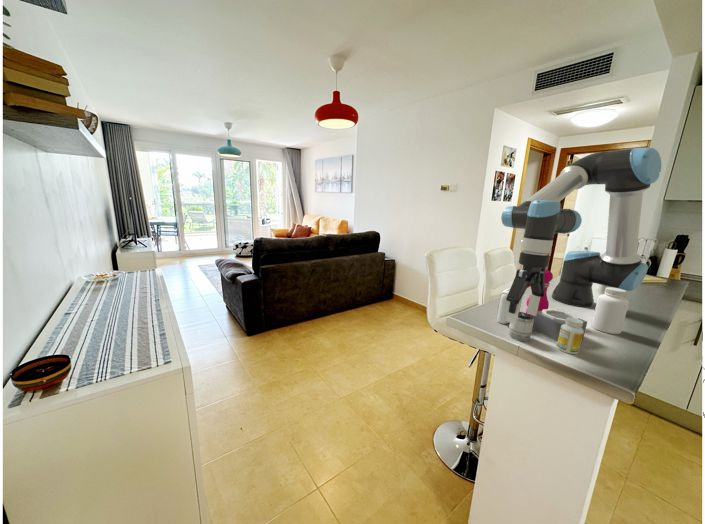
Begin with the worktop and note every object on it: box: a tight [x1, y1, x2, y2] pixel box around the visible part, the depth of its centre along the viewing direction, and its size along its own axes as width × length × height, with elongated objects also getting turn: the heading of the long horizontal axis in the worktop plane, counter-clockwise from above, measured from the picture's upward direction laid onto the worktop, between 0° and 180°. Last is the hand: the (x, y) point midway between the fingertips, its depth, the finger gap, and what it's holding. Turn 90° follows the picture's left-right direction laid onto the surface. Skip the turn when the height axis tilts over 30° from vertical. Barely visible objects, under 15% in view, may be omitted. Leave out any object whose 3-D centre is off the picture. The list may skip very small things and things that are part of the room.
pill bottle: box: [591, 286, 629, 335], centre depth 98 cm, size 8×8×15 cm
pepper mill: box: [525, 266, 554, 317], centre depth 108 cm, size 7×7×20 cm
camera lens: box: [508, 311, 534, 342], centre depth 90 cm, size 6×6×8 cm
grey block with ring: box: [532, 308, 588, 342], centre depth 94 cm, size 11×10×7 cm
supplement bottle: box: [556, 317, 585, 355], centre depth 83 cm, size 5×5×10 cm
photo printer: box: [495, 287, 524, 325], centre depth 102 cm, size 10×4×12 cm, turn 123°
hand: (521, 318), depth 89 cm, fingers open, 13 cm apart
